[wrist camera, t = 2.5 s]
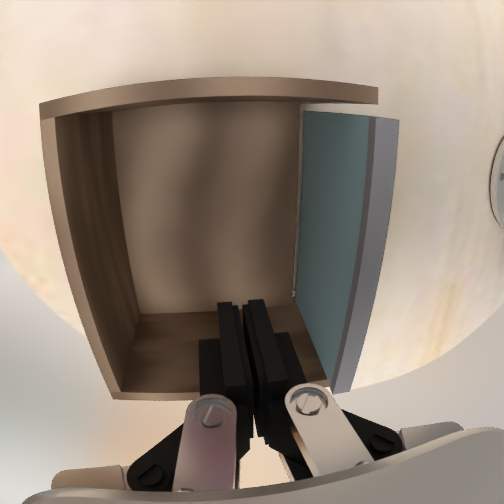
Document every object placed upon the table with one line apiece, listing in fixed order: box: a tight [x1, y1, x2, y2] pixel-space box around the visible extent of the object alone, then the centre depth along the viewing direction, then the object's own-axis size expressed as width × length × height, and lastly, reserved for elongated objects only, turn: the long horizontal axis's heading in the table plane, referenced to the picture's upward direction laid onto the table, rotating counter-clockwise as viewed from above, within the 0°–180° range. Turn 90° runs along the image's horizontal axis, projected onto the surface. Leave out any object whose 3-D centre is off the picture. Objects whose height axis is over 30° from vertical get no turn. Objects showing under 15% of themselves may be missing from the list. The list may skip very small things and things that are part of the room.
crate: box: [39, 77, 378, 401], centre depth 20 cm, size 15×18×10 cm
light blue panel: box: [295, 111, 399, 394], centre depth 19 cm, size 1×15×11 cm, turn 0°
